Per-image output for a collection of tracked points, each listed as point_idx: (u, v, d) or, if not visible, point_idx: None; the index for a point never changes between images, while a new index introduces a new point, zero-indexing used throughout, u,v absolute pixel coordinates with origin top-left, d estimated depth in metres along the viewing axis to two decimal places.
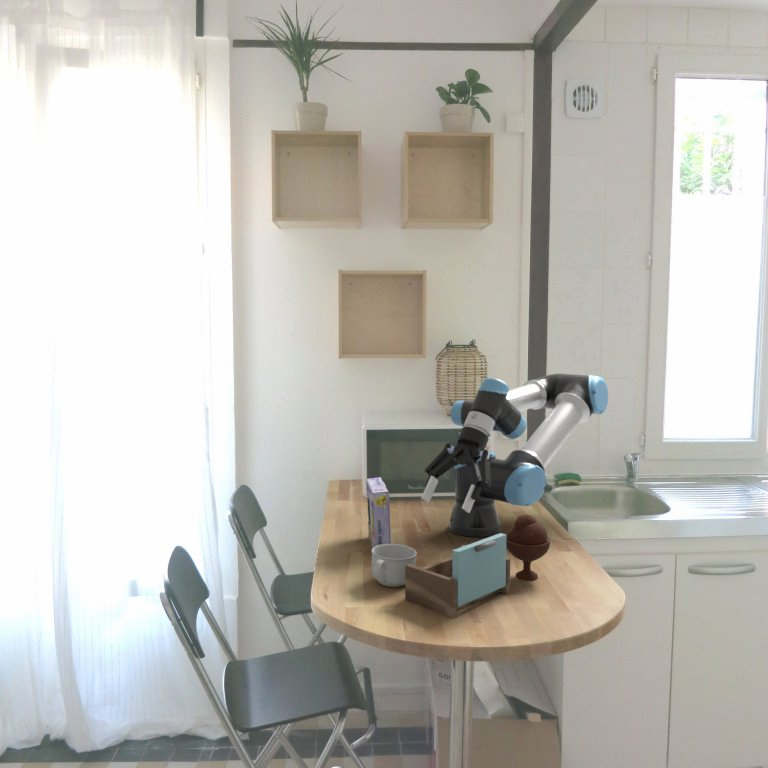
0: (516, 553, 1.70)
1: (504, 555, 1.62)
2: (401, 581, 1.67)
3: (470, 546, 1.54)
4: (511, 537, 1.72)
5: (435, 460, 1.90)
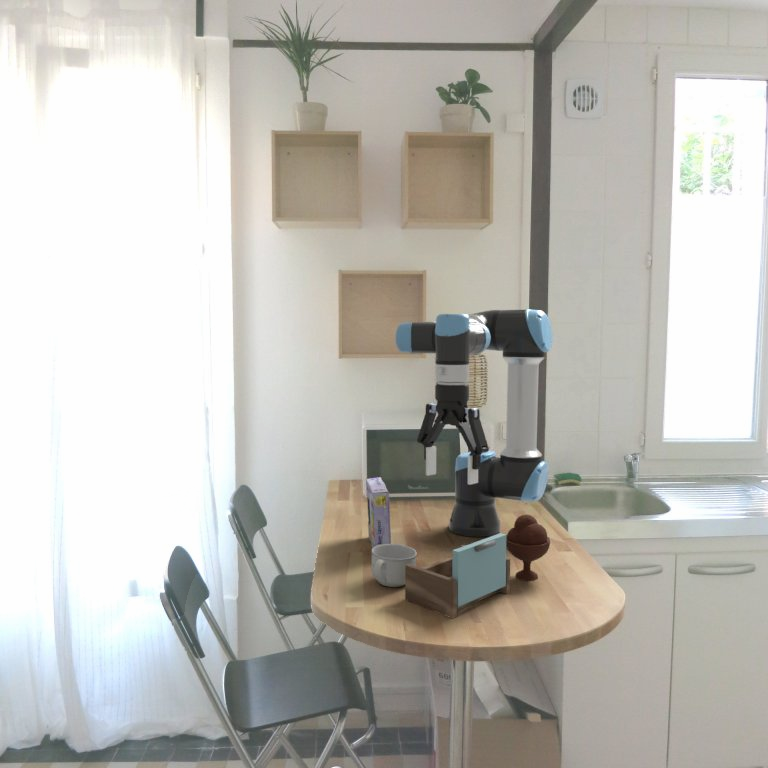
0: (516, 553, 1.70)
1: (504, 555, 1.62)
2: (401, 581, 1.67)
3: (470, 546, 1.54)
4: (511, 537, 1.72)
5: (423, 427, 1.65)
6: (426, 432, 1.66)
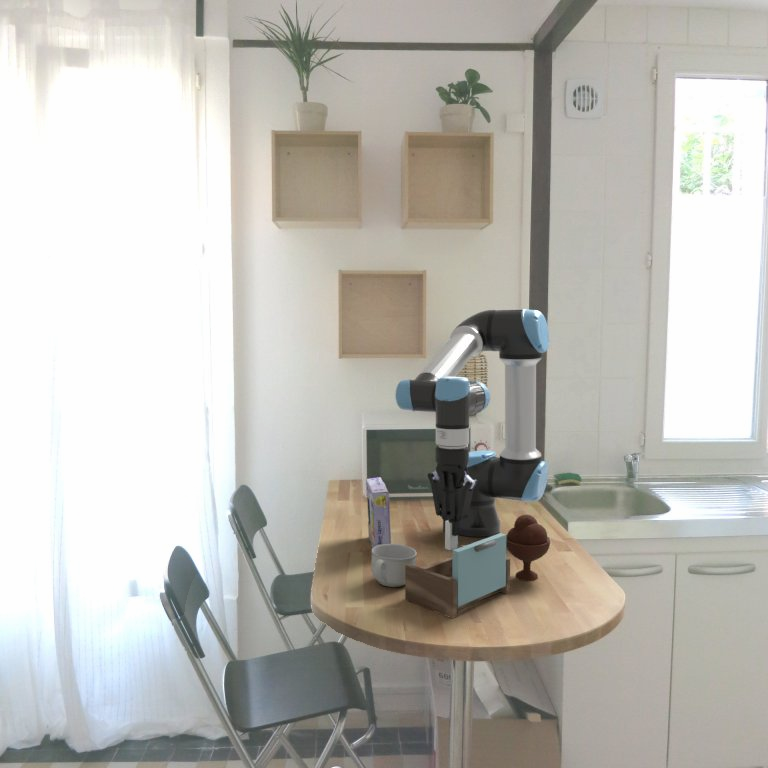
0: (516, 553, 1.70)
1: (504, 555, 1.62)
2: (401, 581, 1.67)
3: (470, 546, 1.54)
4: (511, 537, 1.72)
5: (435, 497, 1.64)
6: (440, 501, 1.64)
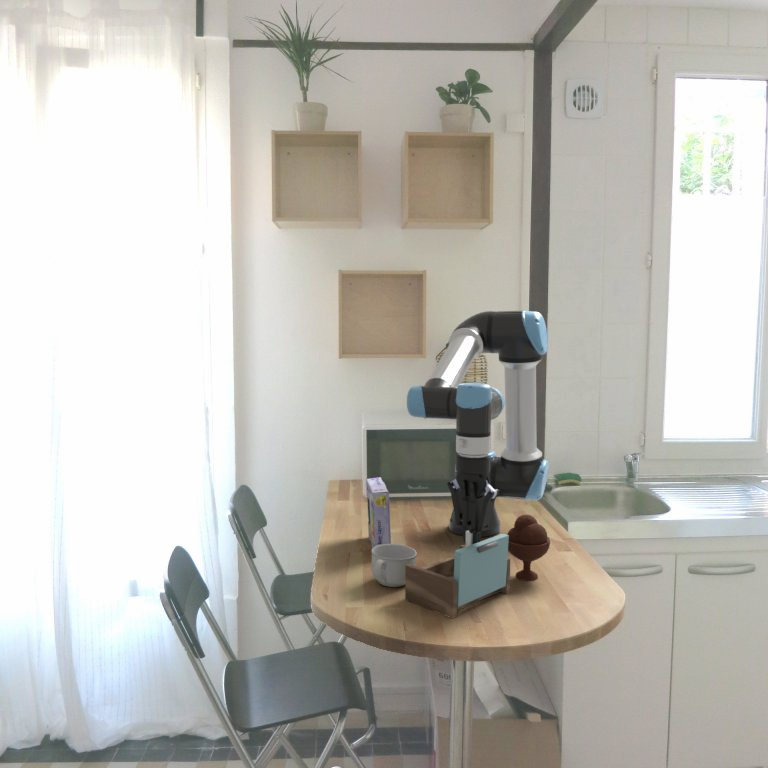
0: (516, 553, 1.70)
1: (505, 555, 1.62)
2: (401, 581, 1.67)
3: (473, 546, 1.54)
4: (511, 537, 1.72)
5: (455, 507, 1.60)
6: (461, 511, 1.60)
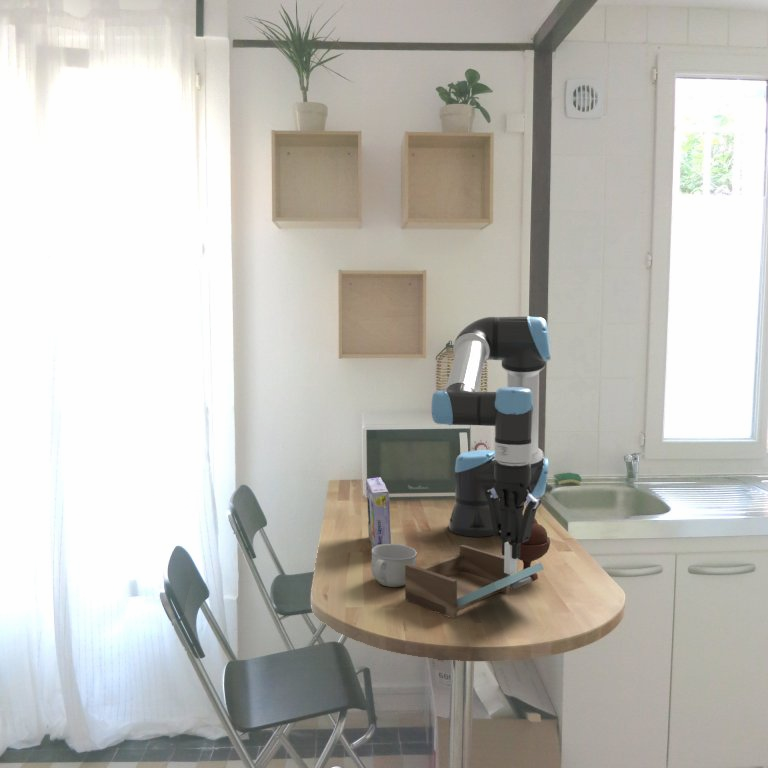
0: None
1: None
2: (401, 581, 1.67)
3: (509, 580, 1.48)
4: None
5: (493, 517, 1.52)
6: (499, 521, 1.52)
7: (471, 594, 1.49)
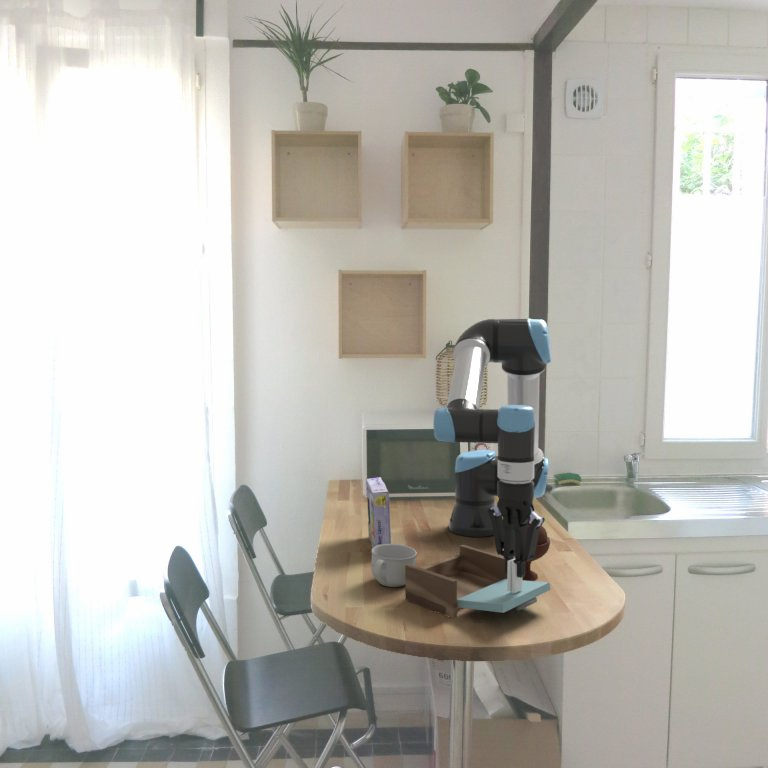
0: None
1: None
2: (401, 581, 1.67)
3: (517, 602, 1.47)
4: None
5: (495, 535, 1.52)
6: (502, 539, 1.52)
7: (475, 603, 1.48)
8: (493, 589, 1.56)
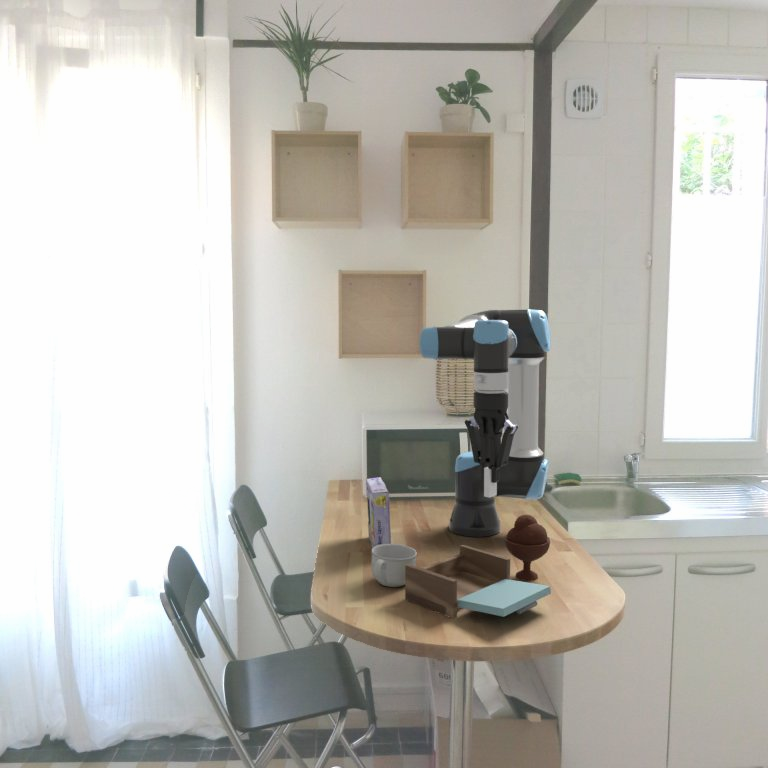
0: (516, 553, 1.70)
1: None
2: (401, 581, 1.67)
3: (518, 606, 1.46)
4: (511, 537, 1.72)
5: (473, 444, 1.60)
6: (478, 448, 1.60)
7: (476, 605, 1.48)
8: (493, 590, 1.56)
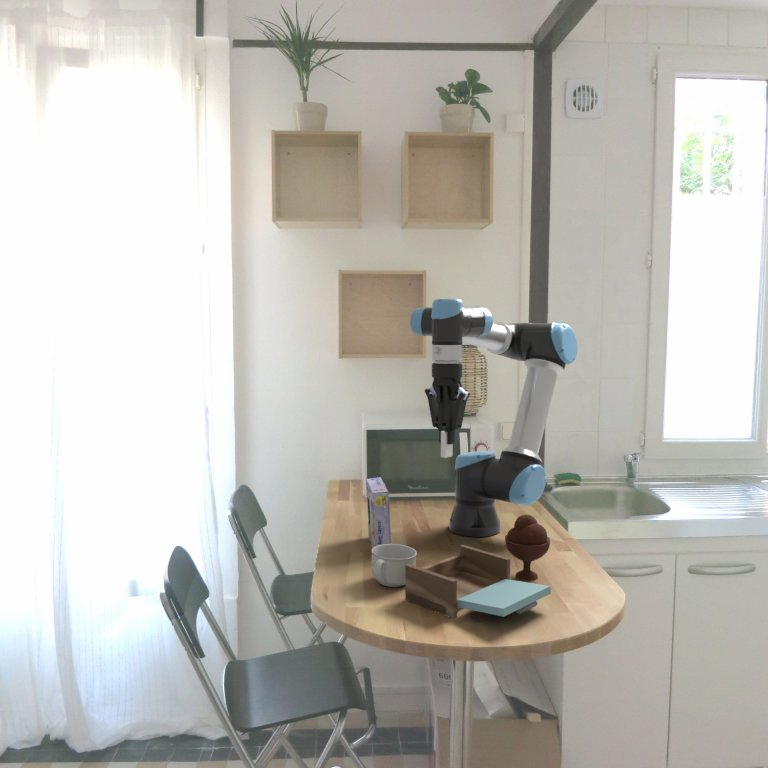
0: (516, 553, 1.70)
1: None
2: (401, 581, 1.67)
3: (518, 606, 1.46)
4: (511, 537, 1.72)
5: (431, 411, 1.79)
6: (436, 414, 1.79)
7: (476, 605, 1.48)
8: (493, 590, 1.56)
